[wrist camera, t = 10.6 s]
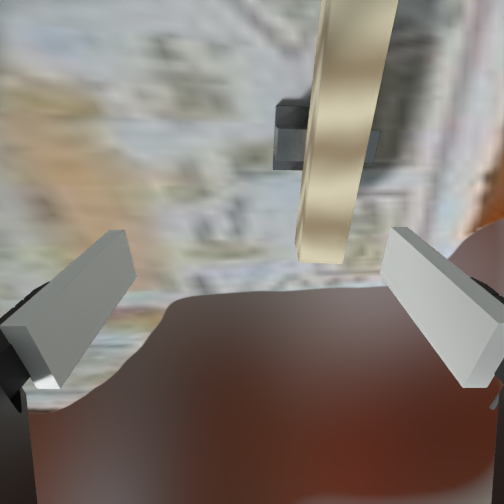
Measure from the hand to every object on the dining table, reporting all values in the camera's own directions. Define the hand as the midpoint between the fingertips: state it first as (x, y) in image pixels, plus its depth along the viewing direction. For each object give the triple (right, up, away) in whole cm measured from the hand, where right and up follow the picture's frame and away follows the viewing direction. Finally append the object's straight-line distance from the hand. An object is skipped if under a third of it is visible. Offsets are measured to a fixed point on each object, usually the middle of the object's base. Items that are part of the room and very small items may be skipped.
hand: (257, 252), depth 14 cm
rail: (+7, +14, +19) cm, 25 cm away
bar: (+7, +11, +14) cm, 19 cm away
